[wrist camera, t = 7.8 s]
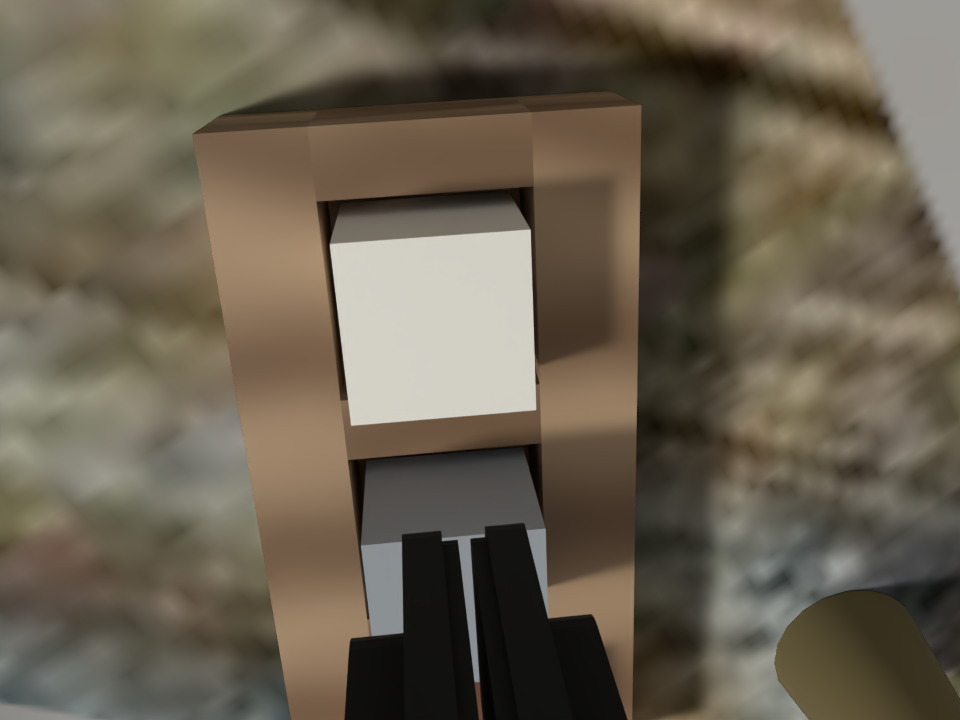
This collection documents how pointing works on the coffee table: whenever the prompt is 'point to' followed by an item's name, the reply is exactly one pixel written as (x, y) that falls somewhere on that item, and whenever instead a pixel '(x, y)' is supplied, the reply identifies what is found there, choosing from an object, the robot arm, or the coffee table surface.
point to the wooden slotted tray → (345, 449)
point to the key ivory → (435, 307)
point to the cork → (862, 662)
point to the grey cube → (442, 520)
